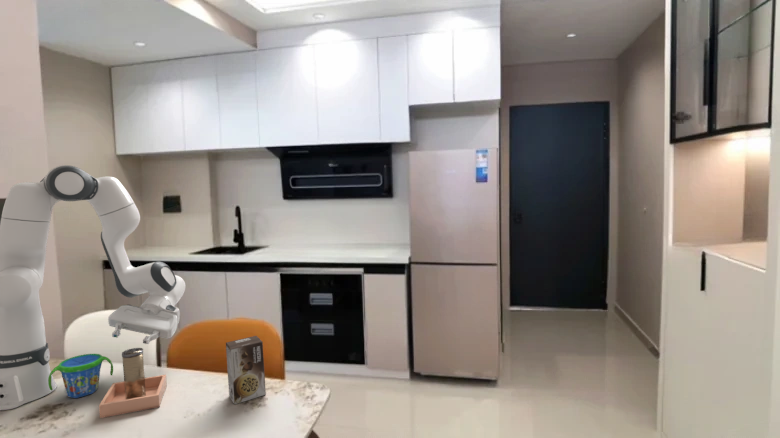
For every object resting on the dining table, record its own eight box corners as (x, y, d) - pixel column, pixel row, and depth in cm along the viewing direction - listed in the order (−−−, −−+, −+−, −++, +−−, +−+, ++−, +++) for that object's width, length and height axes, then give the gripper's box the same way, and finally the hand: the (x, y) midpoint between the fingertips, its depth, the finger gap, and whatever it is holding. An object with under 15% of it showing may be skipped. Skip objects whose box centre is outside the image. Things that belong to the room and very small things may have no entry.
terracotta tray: (99, 418, 110) (98, 405, 110) (113, 394, 123) (113, 383, 123) (159, 407, 115) (158, 394, 115) (166, 385, 128) (166, 374, 128)
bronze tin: (123, 404, 116) (119, 356, 115) (127, 396, 121) (124, 349, 120) (144, 401, 118) (141, 353, 117) (147, 392, 123) (144, 346, 122)
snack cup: (114, 379, 133) (112, 348, 133) (114, 392, 125) (111, 359, 124) (52, 393, 125) (49, 360, 124) (47, 408, 116) (44, 373, 115)
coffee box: (259, 386, 126) (257, 334, 125) (266, 395, 120) (263, 341, 119) (228, 395, 121) (225, 341, 119) (233, 405, 115) (230, 348, 114)
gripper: (122, 296, 140) (95, 324, 127) (184, 310, 141) (162, 338, 129) (123, 310, 142) (96, 339, 130) (183, 323, 144) (162, 353, 132)
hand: (129, 339), depth 130 cm, fingers open, 8 cm apart
